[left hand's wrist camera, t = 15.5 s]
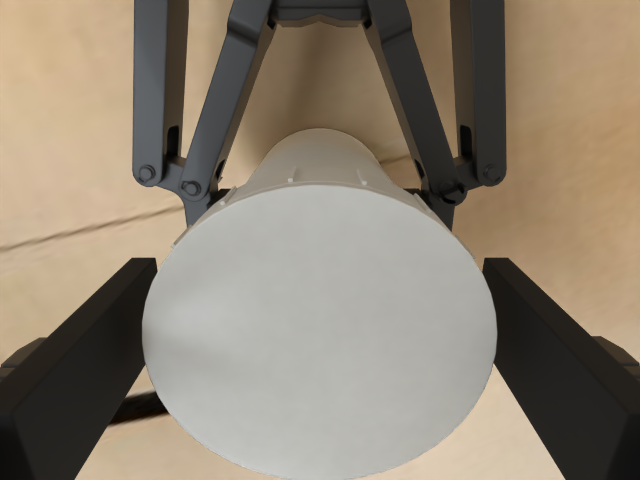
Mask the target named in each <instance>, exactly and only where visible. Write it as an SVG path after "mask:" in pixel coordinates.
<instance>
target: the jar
mask: <svg viewBox="0 0 640 480" xmlns="http://www.w3.org/2000/svg"><path fill="white" fill-rule="evenodd" d="M292 166H296V169H300V168H310V167H325V168H341V169H346V170H352V171H357V168H358V169H361V170H362V172H363V173H365V174H369V175H372V176H375V177H378V178H381V179H383V180H386V181H388V182H390V183H392V184H394V183H393V182H392V180H391V179H390V178H389V176H388V175H387V173H386V172H385V171H384V169H383V168H382V167H381V165H380V164H379V162H378V161H377V160H376V158H375V157H374V155H373V154H372V153H371V151H370V150H369V149H368V148H367V147H366V146H365V145H364V144H362V143H361V142H360V141H359V140H357V139H356V138H354V137H352V136H351V135H348V134H346V133H344V132H341V131H337V130H334V129H326V128H313V129H306V130H302V131H299V132H296V133H294V134H291V135H289V136H287V137H286V138H284V139H282V140H281V141H280V142H278V143H277V144H276V145H275V146H274V147H273V148H272V149H271V150H270V151H269V152H268V153H267V155H266V156H265V158H264V159H263V160H262V162H261V163H260V164H259V166H258V167H257V169H256V170H255V171H254V173H253V174H252V176H251V177H250V178H249V180H248V181H247V182H246V183H248V182H251V181H253V180H256V179H259V178H261V177H264V176H267V175H269V174H273V173H278V172H282V171H286V170H291V168H292Z"/></svg>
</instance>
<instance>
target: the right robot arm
mask: <svg viewBox="0 0 640 480" xmlns="http://www.w3.org/2000/svg"><path fill="white" fill-rule="evenodd" d="M188 17H189V0H134V73H133V162H132V171H133V176H134V178H135V179H136V181H137V182H138V183H139V184H141V185H143V186H146V187H153V186H158V187H161V188H164V189H167V190H170V191H172V192H174V193H176V194H177V195H178V196H179V197H180V198H181V199H182V201H183V203H184V207H185V215H186V223H187V228H188V227H189V225H192V226H193V225H194V224H195V223H196V222H197V220H198V219H199V218H200V217H201V216H202V215H203V214H204V213H205V212H206V211H207V210H208V209H209V208H210V207H211V206H212V205H214V204H215V203H216V202H218V201H219V200H220V199H222V198H223V197H224V196H226V195H227V193H228V192H229V191H230V190H231V189H220V190H219V191H218V183H219V182H220V181H221V179H222V178H223V177H221V175H222V172H223V169H224V166H225V163H226V161H227V158H228V155H229V152H230V150H231V147H232V144H233V141H234V138H235V136H236V133H237V130H238V127H239V125H240V122H241V119H242V116H243V113H244V111H245V108H246V105H247V102H248V100H249V97H250V94H251V91H252V89H253V86H254V83H255V80H256V77H257V75H258V72H259V69H260V66H261V64H262V61H263V58H264V55H265V53H266V50H267V49H268V47H269V45H270V43H271V40H272V38H273V35H274V32H275V30H276V27H277V24H280V25H281V26H282V27H303V26H306V25H309V24H312V23H316V22H323V23H327V24H330V25H333V26H337V27H357V26H358V25H359V24H361V23H362V26H363V29H364V32H365V34H366V37H367V40H368V42H369V45H370V47H371V48H372V50H373V52H374V55H375V57H376V60H377V63H378V65H379V68H380V71H381V74H382V77H383V79H384V82H385V85H386V88H387V90H388V93H389V96H390V99H391V101H392V104H393V107H394V110H395V112H396V115H397V118H398V121H399V123H400V126H401V129H402V132H403V134H404V137H405V140H406V143H407V145H408V148H409V151H410V154H411V156H412V159H413V162H414V165H415V167H416V170H417V173H418V176H419V179H420V181H421V183H422V184H421V191H420V190H419V189H404V190H405V191H407V192H408V193H410V194H412V195H414V194H415V193H416V194H417V195H419V197H420V198H421V199H422V200H423V201H424V202H425V204H426V205H427V206H428V207H429V208H430V209H431V210H432V211H433V212H434V213H435V214H436V215H437V216H438V217H439V219H440V220H441V221H442V222H443V223H444V224H445V226H446V227H447V228H448V229H449V230H450V231H452V224H453V216H454V208H455V206H457V205H459V204H460V203H462V202H463V201H464V199H465V198H466V195H467V191H468V190H471V189H474V188H477V187H480V186H483V185H485V186H495V185H498V184H499V183H500V182H501V181H502V180H503V179H504V177H505V175H506V170H507V169H506V94H505V19H504V0H450V19H451V36H452V54H453V72H454V89H455V107H456V124H457V142H458V157H455V158H453V157H452V154H451V151H450V148H449V145H448V142H447V138H446V135H445V132H444V129H443V126H442V123H441V120H440V117H439V114H438V111H437V108H436V105H435V102H434V99H433V95H432V92H431V89H430V86H429V83H428V80H427V77H426V74H425V71H424V68H423V65H422V62H421V59H420V56H419V52H418V49H417V46H416V43H415V40H414V37H413V34H412V22H411V18H410V14H409V11H408V8H407V5H406V2H405V0H234V2H233V5H232V8H231V11H230V14H229V18H228V23H227V34H226V37H225V41H224V44H223V47H222V50H221V53H220V56H219V59H218V62H217V65H216V68H215V71H214V75H213V78H212V81H211V84H210V87H209V90H208V93H207V96H206V99H205V102H204V106H203V109H202V112H201V115H200V118H199V121H198V124H197V127H196V130H195V133H194V136H193V140H192V143H191V146H190V149H189V152H188V155H187V158H183V157H181V144H182V126H183V108H184V89H185V71H186V53H187V35H188Z"/></svg>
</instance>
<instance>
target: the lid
mask: <svg viewBox="0 0 640 480" xmlns="http://www.w3.org/2000/svg"><path fill="white" fill-rule="evenodd" d="M171 247H172V248H173V250H172V251H171V252H170V254H169V255H168V256H167V258H166V259H165V260H164V262H163V263H162V265H161V267H160V268H159V270H158V272H157V274H156V276H155V278H154V280H153V282H152V284H151V287H150V290H149V293H148V296H147V299H146V302H145V308H144V314H143V319H142V346H143V352H144V359H145V363H146V367H147V370H148V373H149V376H150V380H151V382H152V384H153V386H154V388H155V390H156V392H157V394H158V396H159V398H160V399H161V401H162V402H163V404H164V406H165V407H166V409H167V410H168V412H169V413H170V414H171V415H172V416H173V418H174V419H175V420H176V421H177V422H178V423H179V425H180V426H181V427H182V428H183V429H184V430H185V431H187V432H188V433H189V434H190V435H191V436H192V437H193V438H194V439H195V440H197V441H198V442H199V443H201V444H202V445H204V446H205V447H206V448H208V449H209V450H211V451H212V452H214V453H216V454H217V455H219V456H221V457H223V458H225V459H226V460H228V461H230V462H233V463H235V464H237V465H239V466H242V467H244V468H246V469H249V470H253V471H256V472H259V473H262V474H265V475H270V476H274V477H279V478H283V479H291V480H348V479H355V478H361V477H365V476H369V475H373V474H377V473H381V472H384V471H387V470H389V469H392V468H395V467H397V466H400V465H402V464H404V463H406V462H408V461H411V460H413V459H415V458H417V457H419V456H420V455H422V454H423V453H425V452H427V451H428V450H430V449H431V448H433V447H435V446H436V445H437V444H438V443H440V442H441V441H442V440H443V439H445V438H446V437H447V436H448V435H450V434H451V433H452V432H453V431H454V430H455V429H456V428H457V427H458V426H459V425H460V424H461V423H462V422H463V420H464V419H465V418H466V416H467V415H468V414H469V413H470V411H471V410H472V409H473V407H474V406H475V404H476V403H477V401H478V399H479V397H480V396H481V394H482V392H483V391H484V389H485V386H486V384H487V381H488V379H489V376H490V374H491V371H492V367H493V362H494V358H495V354H496V344H497V323H496V312H495V308H494V304H493V300H492V296H491V292H490V290H489V288H488V285H487V283H486V280H485V278H484V276H483V273H482V272H481V270H480V269H479V267H478V265H477V264H476V262H475V261H474V259H475V256H474V255H473V254H472V253H471V251H470V250H469V249H468V248H467V247H466V246H465V245H464V243H463V242H462V241H461V240H460V239H459V238H458V237H457V236H456V235H453V234H452V232H451V231H450V230H449V229H448V228H447V227H446V226H445V224H444V223H443V222H442V221H441V220H440V219H439V217H438V216H437V215H436V214H435V213H434V212H433V211H432V210H431V209H430V208H429V207H428V206H427V205H426V204H425V202H424V201H423V200H422V199H421V198H420V197H419V195H417V194H416V193H415V194H414V195H412V194H410V193H408V192H407V191H405V190H404V189H402V188H401V187H399V186H396V185H394V184H392V183H390V182H388V181H386V180H383V179H381V178H378V177H375V176H372V175H369V174H365V173H363V172H362V170H361V169H358V168H357V171H352V170H346V169H341V168H325V167H310V168H300V169H296V166H292V168H291V170H286V171H282V172H278V173H273V174H269V175H267V176H264V177H261V178H259V179H256V180H253V181H251V182H248V183H246V184H245V185H243V186H241V187H239V188H236V186H234V187H232V188H231V190H230V191H229V192H228V193H227V195H226V196H224V197H223V198H222V199H220V200H219V201H218V202H216V203H215V204H214V205H212V206H211V207H210V208H209V209H208V210H207V211H206V212H205V213H204V214H203V215H202V216H201V217H200V218H199V219H198V220H197V222H196V223H195V224H194V225H193V226H192V225H189V227H188V228H187V229H186V230H185V231H184V232H183V233H182V234H181V235H180V236H179V238H178V239H177V240H176V241H175V242H174V243H173V244H172V246H171Z"/></svg>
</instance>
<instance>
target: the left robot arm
mask: <svg viewBox="0 0 640 480" xmlns="http://www.w3.org/2000/svg"><path fill="white" fill-rule="evenodd" d="M157 272H158V271H157V265H156V259H155V258H131V259H130V260H129V261H128V262H127V263H126V264H125V265H124V266H123V267H122V268H121V269H120V270H119V271H117V272H116V273H115V274H114V275H113V276H112V277H111V278H110V279H109V280H108V281H107V282H106V283H105V284H104V285H103V286H102V287H100V288H99V289H98V290H97V291H96V292H95V293H94V294H93V295H92V296H91V297H90V298H89V299H88V300H87V301H86V302H85V303H83V304H82V305H81V306H80V307H79V308H78V309H77V310H76V311H75V312H74V313H73V314H72V315H71V316H70V317H69V318H68V319H66V320H65V321H64V322H63V323H62V324H61V325H60V326H59V327H58V328H57V329H56V330H55V331H54V332H53V333H52V334H51V335H50V336H48V337H47V338H38V339H36V340H35V341H33V342H31V343H29V344H27V345H26V346H24V347H22V348H20V349H19V350H17V351H16V352H15V353H14V354H13V355H11V356H10V357H9V358H8V359H7V360H6V361H5V362H4V363H2V364H1V367H0V480H75V478H76V476H77V475H78V473H79V471H80V470H81V468H82V467H83V465H84V463H85V462H86V460H87V458H88V457H89V455H90V454H91V452H92V450H93V449H94V447H95V445H96V444H97V442H98V441H99V439H100V437H101V436H102V434H103V432H104V431H105V429H106V428H107V426H108V424H109V423H110V421H111V419H112V418H113V416H114V415H115V413H116V411H117V410H118V408H119V406H120V405H121V403H122V402H123V400H124V398H125V397H126V395H127V393H128V392H129V390H130V389H131V387H132V385H133V384H134V382H135V380H136V379H137V377H138V376H139V374H140V372H141V371H142V369H143V367H144V366H145V364H146V363H145V359H144V352H143V346H142V319H143V314H144V308H145V302H146V299H147V296H148V293H149V290H150V287H151V284H152V282H153V280H154V278H155V276H156V274H157ZM482 273H483V276H484V278H485V280H486V283H487V285H488V288H489V290H490V292H491V296H492V300H493V304H494V308H495V312H496V323H497V344H496V354H495V358H494V362H493V363H494V364H495V366H496V367H497V369H498V371H499V372H500V374H501V376H502V377H503V379H504V380H505V382H506V384H507V385H508V387H509V389H510V390H511V392H512V393H513V395H514V397H515V398H516V400H517V402H518V403H519V405H520V406H521V408H522V410H523V411H524V413H525V415H526V416H527V418H528V419H529V421H530V423H531V424H532V426H533V428H534V429H535V431H536V432H537V434H538V436H539V437H540V439H541V441H542V442H543V444H544V445H545V447H546V449H547V450H548V452H549V454H550V455H551V457H552V458H553V460H554V462H555V463H556V465H557V467H558V468H559V470H560V471H561V473H562V475H563V476H564V478H565V480H640V365H639V362H637V361H636V360H635V359H634V358H633V357H632V356H631V355H629V354H628V353H627V352H626V351H625V350H624V349H623V348H621V347H619V346H617V345H615V344H614V343H612V342H610V341H608V340H607V339H605V338H603V337H601V336H590V335H589V334H588V333H587V332H586V331H585V330H584V329H583V328H582V327H581V326H580V325H579V324H578V323H577V322H576V321H575V320H574V319H572V318H571V317H570V316H569V315H568V314H567V313H566V312H565V311H564V310H563V309H562V308H561V307H560V306H559V305H558V304H557V303H555V302H554V301H553V300H552V299H551V298H550V297H549V296H548V295H547V294H546V293H545V292H544V291H543V290H542V289H541V288H540V287H538V286H537V285H536V284H535V283H534V282H533V281H532V280H531V279H530V278H529V277H528V276H527V275H526V274H525V273H524V272H523V271H521V270H520V269H519V268H518V267H517V266H516V265H515V264H514V263H513V262H512V261H511V260H510V259H509V258H485V259H484V265H483V271H482Z"/></svg>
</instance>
